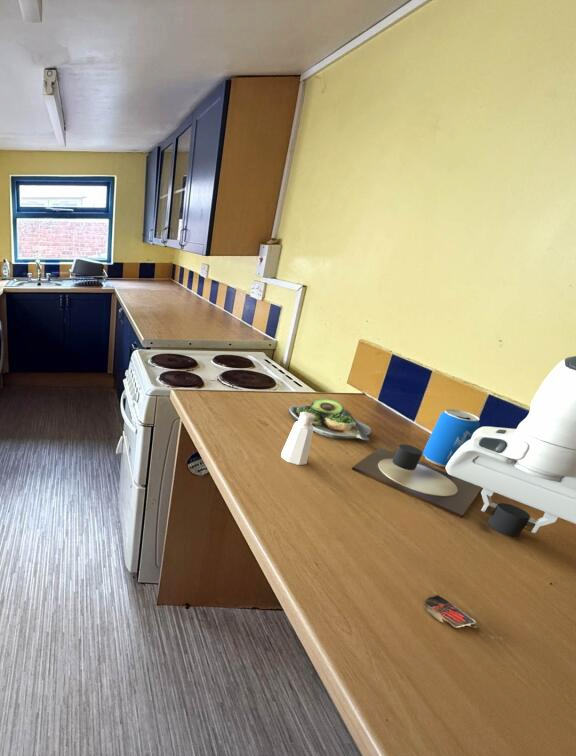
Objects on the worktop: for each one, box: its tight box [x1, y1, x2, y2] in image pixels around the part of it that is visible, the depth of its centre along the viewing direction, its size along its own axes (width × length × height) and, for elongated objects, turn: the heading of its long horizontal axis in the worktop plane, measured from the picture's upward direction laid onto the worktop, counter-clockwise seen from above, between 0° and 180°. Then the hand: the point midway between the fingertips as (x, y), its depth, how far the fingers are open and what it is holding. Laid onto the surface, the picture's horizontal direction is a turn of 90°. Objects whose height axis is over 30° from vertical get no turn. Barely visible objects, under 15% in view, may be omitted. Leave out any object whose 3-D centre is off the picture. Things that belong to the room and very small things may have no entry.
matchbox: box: [423, 594, 480, 629], centre depth 54 cm, size 5×5×1 cm
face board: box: [351, 447, 483, 518], centre depth 84 cm, size 18×16×1 cm
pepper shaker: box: [280, 412, 315, 466], centre depth 87 cm, size 5×5×11 cm
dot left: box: [392, 443, 423, 470], centre depth 87 cm, size 4×4×4 cm
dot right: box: [487, 502, 531, 537], centre depth 70 cm, size 4×4×4 cm
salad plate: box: [288, 398, 372, 442], centre depth 104 cm, size 19×18×5 cm
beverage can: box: [422, 408, 481, 468], centre depth 89 cm, size 6×6×12 cm
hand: (507, 520), depth 71 cm, fingers closed on dot right, 4 cm apart
